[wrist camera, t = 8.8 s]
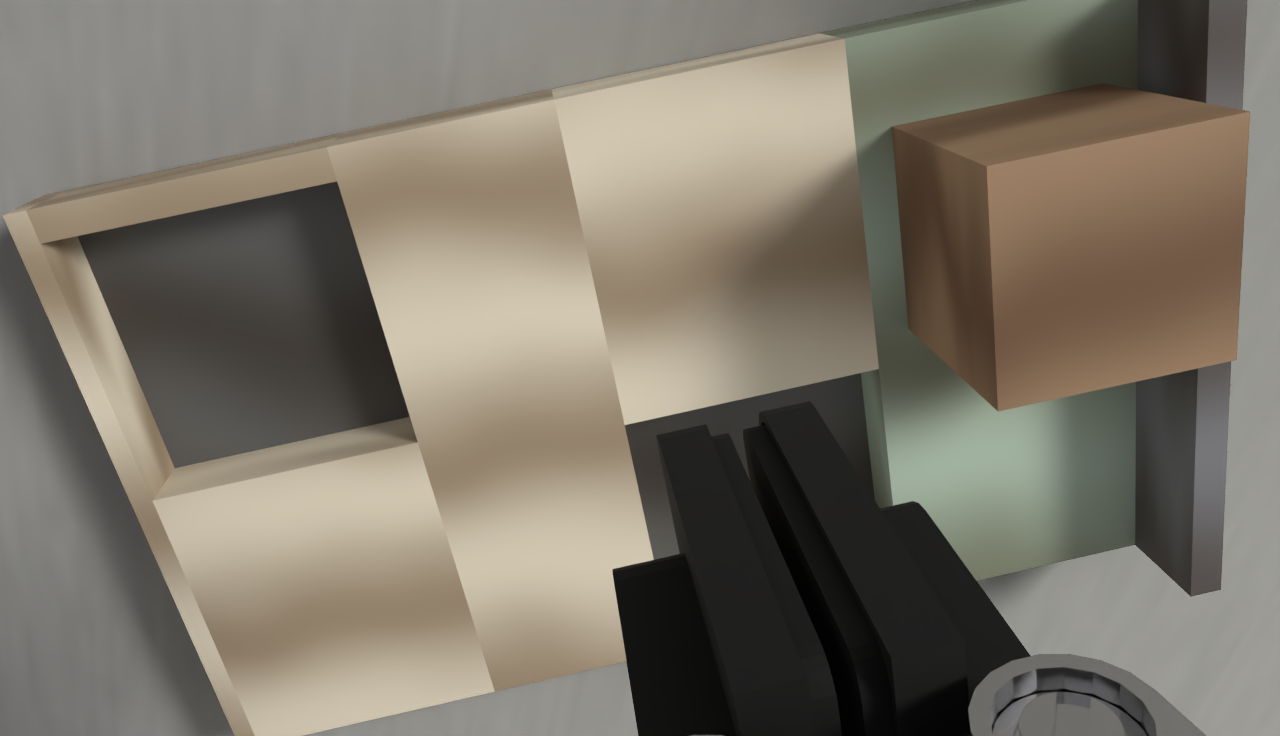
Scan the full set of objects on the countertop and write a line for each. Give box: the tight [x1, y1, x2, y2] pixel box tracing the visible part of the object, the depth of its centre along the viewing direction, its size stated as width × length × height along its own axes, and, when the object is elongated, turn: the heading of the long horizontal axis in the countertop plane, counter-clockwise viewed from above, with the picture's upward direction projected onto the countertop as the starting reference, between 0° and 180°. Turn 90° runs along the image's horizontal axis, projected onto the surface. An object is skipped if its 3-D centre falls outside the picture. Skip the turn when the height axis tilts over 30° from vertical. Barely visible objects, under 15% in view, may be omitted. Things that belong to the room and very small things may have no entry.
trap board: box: [3, 0, 1247, 736], centre depth 24 cm, size 15×26×4 cm, turn 102°
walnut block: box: [892, 83, 1250, 412], centre depth 22 cm, size 5×5×5 cm
